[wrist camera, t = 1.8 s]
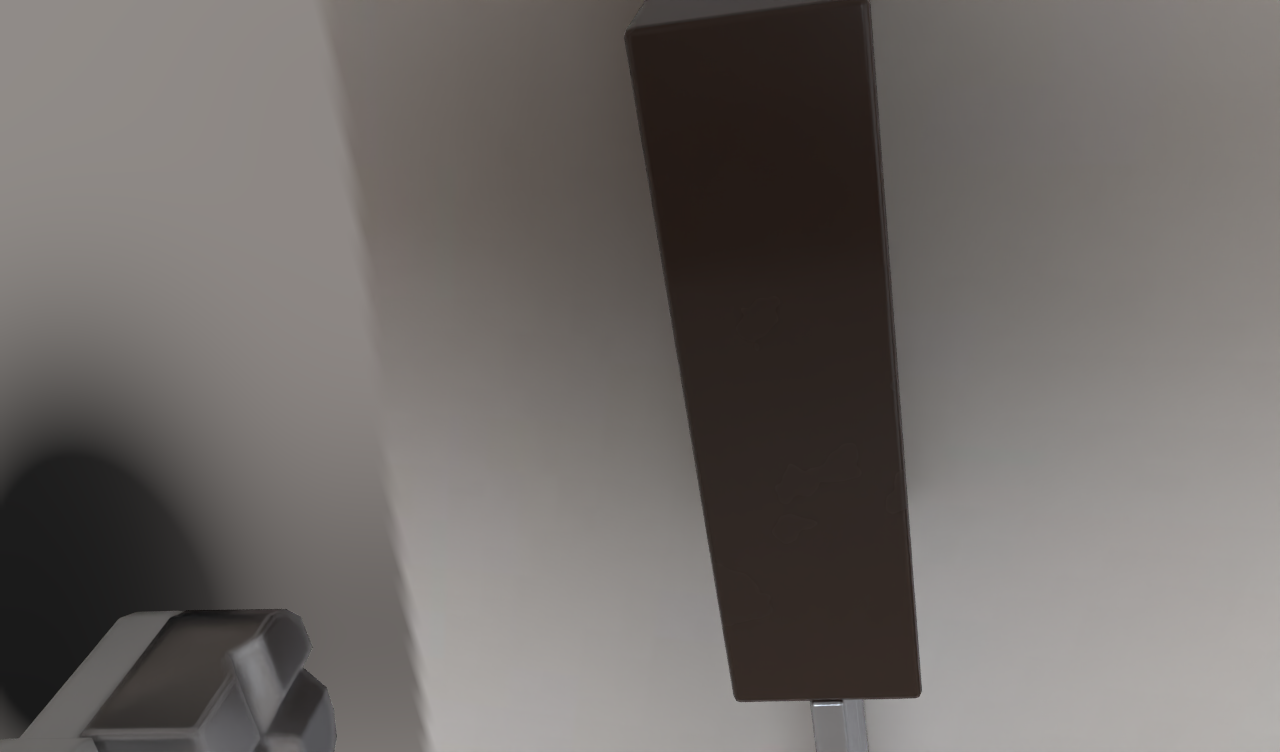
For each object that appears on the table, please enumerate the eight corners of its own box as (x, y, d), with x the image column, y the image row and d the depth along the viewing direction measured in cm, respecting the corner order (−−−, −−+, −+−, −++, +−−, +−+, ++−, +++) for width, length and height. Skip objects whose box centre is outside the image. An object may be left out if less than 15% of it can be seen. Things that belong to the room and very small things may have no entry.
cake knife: (674, -47, 14) (621, 29, 11) (862, -75, 14) (869, -4, 11) (829, 1032, 23) (826, 1261, 20) (947, 1036, 23) (965, 1271, 20)
